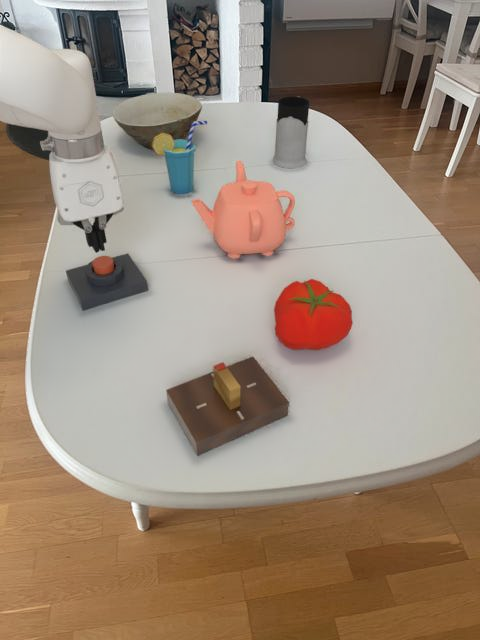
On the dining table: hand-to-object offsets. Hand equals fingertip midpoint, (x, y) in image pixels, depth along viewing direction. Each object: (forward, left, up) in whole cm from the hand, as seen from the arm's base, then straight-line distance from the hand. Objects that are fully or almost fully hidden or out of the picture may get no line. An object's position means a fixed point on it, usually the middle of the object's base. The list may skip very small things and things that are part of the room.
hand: (97, 247), depth 89 cm
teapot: (+29, +1, -9) cm, 31 cm away
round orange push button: (0, 0, -5) cm, 5 cm away
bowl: (+33, +56, -9) cm, 66 cm away
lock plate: (+6, -36, -9) cm, 37 cm away
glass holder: (+60, +31, -9) cm, 69 cm away
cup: (+28, +28, -9) cm, 41 cm away
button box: (0, 0, -9) cm, 9 cm away
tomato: (+25, -29, -9) cm, 39 cm away
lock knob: (+6, -36, -5) cm, 37 cm away
